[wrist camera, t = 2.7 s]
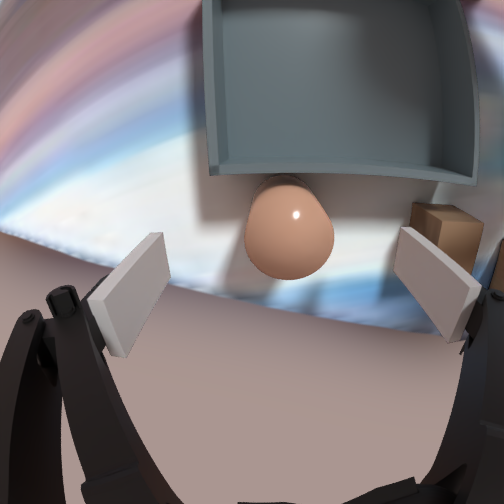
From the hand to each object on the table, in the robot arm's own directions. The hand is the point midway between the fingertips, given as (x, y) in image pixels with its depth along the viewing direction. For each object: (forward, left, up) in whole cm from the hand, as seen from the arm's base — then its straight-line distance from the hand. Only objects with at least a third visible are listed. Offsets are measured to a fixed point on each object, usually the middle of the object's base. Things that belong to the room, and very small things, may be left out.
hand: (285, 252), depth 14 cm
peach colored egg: (0, 0, -8) cm, 8 cm away
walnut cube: (+2, +14, -8) cm, 17 cm away
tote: (-12, +5, -8) cm, 16 cm away
